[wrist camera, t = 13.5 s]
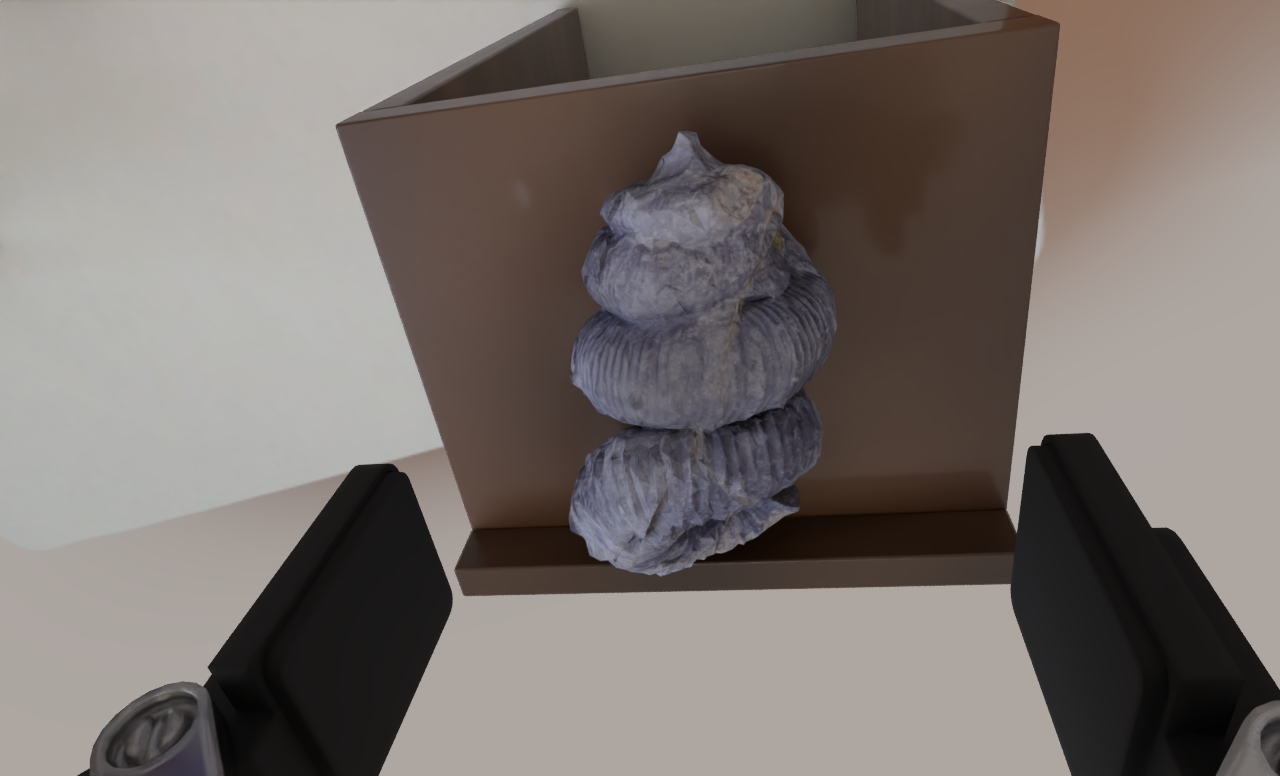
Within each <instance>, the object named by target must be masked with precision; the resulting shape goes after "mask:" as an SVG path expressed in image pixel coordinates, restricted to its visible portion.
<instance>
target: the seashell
mask: <svg viewBox="0 0 1280 776" xmlns="http://www.w3.org/2000/svg"><path fill="white" fill-rule="evenodd" d="M599 214H600V215H601V216H602V217H603V218H604V220H605V222H606V223H608V225H606V226H604V227H602V228H600V229H599V230H598V232H597V234H596V237H595V239H594V241H593V243H592V245H591V247H590V249H589V251H588V253H587V256H586V259H585V262H584V265H583V268H582V270H581V273H582V277H583V281H584V284H585V286H586V288H587V291H588V293H589V295H590V296H591V298H592V299H593V300H594V301H595V302H596V303H598V304H599V305H601V306H602V308H601V309H600V310H599V311H597V312H596V313H595V314H594V315H593V316H591V317H590V318H589V319H588V320H587V321H586V322H585V323H584V325H583V326H582V327H581V329H580V331H579V334H578V336H577V338H575V342H574V347H573V352H572V362H571V370H572V372H573V374H571V375H570V379H571V381H572V384H574V385H575V386H576V387H578V388H579V389H580V390H581V391H582V392H583V394H584V395H586V396H587V397H588V398H589V400H590V401H591V403H592V404H593V406H594V407H595V409H596V410H597V411H598V412H599V413H600V414H603V415H607V416H610V417H612V418H614V419H616V420H618V421H620V422H622V423H627V424H633V425H632V426H630V427H628V428H625V429H623V430H621V431H619V433H618V434H617V436H615V437H612V438H609V439H607V440H606V441H605V442H604V443H603V444H601V445H600V446H599V447H597V448H596V449H594V450H593V451H592V452H591V453H590V454H588V455H587V456H586V459H585V465H584V466H583V467H582V468H581V469H580V470H579V473H578V476H577V479H576V482H575V486H574V489H573V490H574V491H573V494H572V498H571V507H570V513H569V524H570V530H571V531H572V532H574V533H576V534H578V535H580V536H582V537H583V538H584V539H585V540H586V544H587V548H588V552H589V555H590V556H592V557H593V558H595V559H597V560H599V561H607V560H608V561H609V562H610V563H611V564H613V565H614V566H615V567H616V568H620V569H624V570H628V571H630V572H636V573H644V574H647V575H652V574H657V575H659V576H660V577H661V576H664V575H667V574H670V573H671V572H676V571H679V570H682V569H684V568H687V567H691V566H692V564H693V563H694V561H695V560H696V559H701V560H704V559H705V558H706V557H707V556H710V555H713V554H715V553H724V552H727V551H729V550H732V549H733V548H734V547H735V546H736V545H738V544H742V545H744V544H745V542H747V541H749V540H752V539H754V538H756V537H757V536H759V535H760V534H761V533H762V532H764V531H765V530H766V529H767V528H769V527H770V526H772V525H773V524H775V523H776V522H778V521H779V520H780V519H781V518H783V517H784V516H786V515H789V514H792V513H795V512H798V511H799V508H800V504H799V488H798V487H797V486H796V485H795V484H794V482H795V481H796V480H797V478H798V477H799V476H801V475H803V474H805V473H806V472H808V471H809V470H811V469H812V468H813V467H814V466H815V465H816V464H817V463H818V461H819V457H820V454H821V439H822V434H823V432H822V429H821V425H822V419H821V416H820V413H819V410H818V407H817V405H816V404H815V403H814V402H813V401H812V400H811V399H810V398H809V397H808V396H807V395H806V392H805V389H804V385H806V384H807V383H808V382H810V380H811V378H812V376H813V375H814V374H815V372H816V371H817V370H819V368H820V367H821V366H822V365H823V364H824V363H825V362H826V360H827V359H828V356H829V353H830V350H831V347H832V344H833V341H834V338H835V334H836V329H837V322H836V307H835V300H834V295H833V291H832V289H831V287H830V286H829V284H828V283H827V281H826V280H825V278H824V276H823V275H822V273H821V272H820V271H819V270H818V269H816V268H815V266H814V265H813V264H812V262H811V260H810V258H809V256H808V254H807V252H806V250H805V249H804V247H803V246H802V245H801V244H800V243H799V242H798V241H797V240H795V238H794V237H793V236H792V234H791V233H790V232H789V231H788V230H787V229H786V227H785V226H784V225H783V224H782V222H783V214H784V193H783V192H782V190H781V188H780V187H779V186H778V185H777V184H776V183H775V182H774V181H773V180H772V178H771V177H770V176H768V175H767V174H766V173H764V172H763V171H762V170H760V169H756V168H753V167H750V166H747V165H743V164H738V165H731V164H723V163H722V162H720V161H719V160H717V159H715V158H714V157H713V156H712V155H711V154H710V153H708V152H707V151H706V150H705V149H704V148H703V147H702V146H701V145H700V142H699V139H698V136H697V133H695V132H690V131H681V132H679V133H678V135H677V138H676V141H675V144H674V146H673V148H672V149H671V150H670V151H669V153H667V154H665V155H664V156H662V157H661V159H660V161H659V164H658V166H657V168H656V170H655V172H654V173H653V175H652V176H651V178H650V179H646V180H642V181H639V182H636V183H634V184H632V185H630V186H628V187H626V188H624V189H619V190H617V191H615V192H613V193H612V194H610V195H609V196H607V197H606V198H605V201H604V203H603V206H602V208H601V210H600V213H599Z"/></svg>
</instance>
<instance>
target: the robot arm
mask: <svg viewBox="0 0 1280 776" xmlns="http://www.w3.org/2000/svg"><path fill="white" fill-rule="evenodd" d="M1011 599H1012V605H1013V610H1014V613H1015V616H1016V619H1017V622H1018V624H1019V627H1020V630H1021V633H1022V636H1023V639H1024V642H1025V644H1026V647H1027V650H1028V653H1029V656H1030V658H1031V661H1032V664H1033V667H1034V670H1035V673H1036V676H1037V678H1038V681H1039V684H1040V687H1041V690H1042V692H1043V695H1044V698H1045V701H1046V704H1047V707H1048V710H1049V713H1050V715H1051V718H1052V721H1053V724H1054V727H1055V729H1056V732H1057V735H1058V738H1059V741H1060V744H1061V747H1062V749H1063V752H1064V755H1065V758H1066V761H1067V764H1068V767H1069V769H1070V772H1071V775H1072V776H1280V690H1279V688H1278V687H1277V685H1276V684H1275V682H1274V681H1273V679H1272V677H1271V676H1270V675H1269V673H1268V671H1267V670H1266V668H1265V667H1264V665H1263V664H1262V662H1261V661H1260V659H1259V658H1258V656H1257V654H1256V653H1255V651H1254V650H1253V649H1252V647H1251V645H1250V644H1249V642H1248V641H1247V639H1246V638H1245V636H1244V635H1243V633H1242V632H1241V630H1240V629H1239V627H1238V625H1237V624H1236V622H1235V621H1234V619H1233V618H1232V616H1231V615H1230V613H1229V612H1228V610H1227V609H1226V607H1225V606H1224V604H1223V603H1222V601H1221V599H1220V598H1219V596H1218V595H1217V593H1216V592H1215V591H1214V589H1213V587H1212V586H1211V584H1210V583H1209V581H1208V580H1207V578H1206V577H1205V575H1204V574H1203V572H1202V570H1201V569H1200V567H1199V566H1198V564H1197V563H1196V562H1195V560H1194V558H1193V557H1192V555H1191V554H1190V552H1189V551H1188V549H1187V548H1186V546H1185V545H1184V543H1183V541H1182V540H1181V539H1180V538H1179V537H1178V535H1177V534H1176V533H1175V532H1174V531H1172V530H1170V529H1169V528H1151V526H1150V524H1149V523H1148V521H1147V520H1146V518H1145V516H1144V515H1143V513H1142V511H1141V510H1140V508H1139V507H1138V505H1137V503H1136V502H1135V500H1134V499H1133V497H1132V495H1131V494H1130V492H1129V491H1128V489H1127V487H1126V486H1125V484H1124V483H1123V481H1122V479H1121V478H1120V476H1119V474H1118V473H1117V471H1116V470H1115V468H1114V466H1113V465H1112V463H1111V462H1110V460H1109V458H1108V457H1107V455H1106V454H1105V452H1104V450H1103V449H1102V447H1101V445H1100V444H1099V442H1098V440H1097V439H1096V438H1095V436H1094V435H1093V434H1090V433H1080V434H1079V433H1078V434H1056V435H1046V436H1044V438H1043V440H1042V443H1041V446H1031V447H1029V449H1028V452H1027V458H1026V466H1025V474H1024V483H1023V490H1022V498H1021V506H1020V514H1019V523H1018V530H1017V538H1016V546H1015V554H1014V562H1013V570H1012V579H1011ZM452 600H453V598H452V591H451V588H450V585H449V583H448V580H447V577H446V575H445V572H444V569H443V567H442V564H441V561H440V559H439V556H438V554H437V551H436V548H435V546H434V543H433V540H432V538H431V535H430V532H429V530H428V527H427V525H426V522H425V519H424V517H423V514H422V511H421V509H420V506H419V504H418V501H417V498H416V496H415V493H414V490H413V488H412V485H411V483H410V480H409V478H408V476H407V475H406V474H405V473H403V472H399V471H398V469H397V468H396V467H395V466H394V465H393V464H369V465H358V466H355V467H354V468H353V469H352V470H351V471H350V473H349V474H348V475H347V477H346V478H345V480H344V481H343V482H342V484H341V485H340V486H339V488H338V489H337V490H336V492H335V493H334V495H333V496H332V497H331V499H330V500H329V501H328V503H327V504H326V506H325V507H324V508H323V510H322V511H321V513H320V514H319V515H318V516H317V518H316V519H315V521H314V522H313V523H312V525H311V526H310V528H309V529H308V530H307V532H306V533H305V534H304V536H303V537H302V538H301V540H300V541H299V543H298V544H297V545H296V547H295V548H294V549H293V551H292V552H291V553H290V555H289V556H288V558H287V559H286V560H285V562H284V563H283V564H282V566H281V567H280V569H279V570H278V571H277V573H276V574H275V575H274V577H273V578H272V580H271V581H270V582H269V584H268V585H267V586H266V588H265V589H264V591H263V592H262V593H261V595H260V596H259V598H258V599H257V600H256V602H255V603H254V604H253V606H252V607H251V608H250V610H249V611H248V612H247V614H246V615H245V617H244V618H243V619H242V621H241V622H240V623H239V625H238V626H237V628H236V629H235V630H234V632H233V633H232V634H231V636H230V637H229V639H228V640H227V641H226V643H225V644H224V645H223V647H222V648H221V650H220V651H219V652H218V654H217V655H216V656H215V658H214V659H213V661H212V662H211V663H210V665H209V666H208V668H209V670H210V672H211V673H212V675H211V676H210V678H209V679H208V681H207V682H206V683H205V685H204V686H203V687H202V686H201V685H199V684H197V683H193V682H192V683H191V682H178V683H172V684H167V685H164V686H162V687H159V688H157V689H154V690H152V691H149V692H148V693H146V694H144V695H142V696H141V697H139V698H137V699H136V700H134V701H132V702H131V703H130V704H129V705H127V706H126V707H125V708H124V709H122V710H121V711H120V712H119V713H118V714H116V715H115V716H114V718H113V719H112V720H111V721H110V722H109V723H108V724H107V725H106V727H105V728H104V729H103V730H102V731H101V733H100V735H99V737H98V738H97V740H96V742H95V744H94V746H93V749H92V753H91V758H90V769H88V770H86V771H84V772H83V773H81V774H80V775H78V776H378V775H379V773H380V771H381V769H382V766H383V764H384V762H385V760H386V757H387V755H388V753H389V751H390V748H391V746H392V744H393V741H394V739H395V737H396V735H397V733H398V730H399V728H400V726H401V724H402V721H403V719H404V717H405V715H406V712H407V710H408V707H409V706H410V703H411V701H412V699H413V696H414V694H415V692H416V690H417V687H418V685H419V683H420V681H421V678H422V676H423V674H424V672H425V669H426V667H427V665H428V663H429V660H430V658H431V655H432V654H433V651H434V649H435V646H436V645H437V642H438V640H439V638H440V635H441V633H442V631H443V629H444V626H445V624H446V622H447V620H448V617H449V615H450V612H451V608H452Z"/></svg>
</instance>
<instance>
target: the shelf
mask: <svg viewBox="0 0 1280 776" xmlns="http://www.w3.org/2000/svg"><path fill="white" fill-rule="evenodd" d="M856 4H857V41H854V42H847V43H840V44H833V45H826V46H819V47H812V48H805V49H798V50H791V51H784V52H777V53H770V54H763V55H756V56H749V57H742V58H735V59H728V60H721V61H715V62H708V63H701V64H694V65H687V66H680V67H673V68H666V69H659V70H652V71H645V72H638V73H631V74H624V75H617V76H610V77H603V78H596V79H589V73H588V67H587V62H586V56H585V50H584V44H583V39H582V33H581V27H580V21H579V16H578V10H577V8H576V7H573V8H567V9H560V10H556V11H554V12H552V13H551V14H549V15H547V16H545V17H543V18H541V19H539V20H537V21H535V22H533V23H531V24H529V25H528V26H526V27H524V28H522V29H520V30H518V31H516V32H514V33H512V34H510V35H508V36H506V37H504V38H503V39H501V40H499V41H497V42H495V43H493V44H491V45H489V46H487V47H485V48H483V49H481V50H479V51H478V52H476V53H474V54H472V55H470V56H468V57H466V58H464V59H462V60H460V61H458V62H456V63H454V64H453V65H451V66H449V67H447V68H445V69H443V70H441V71H439V72H437V73H435V74H433V75H431V76H430V77H428V78H426V79H424V80H422V81H420V82H418V83H416V84H414V85H412V86H410V87H408V88H406V89H405V90H403V91H401V92H399V93H397V94H395V95H393V96H391V97H389V98H387V99H385V100H383V101H381V102H380V103H378V104H376V105H374V106H372V107H370V108H368V109H366V110H364V111H363V112H359V113H357V114H355V115H354V116H352V117H350V118H348V119H346V120H344V121H342V122H340V123H338V124H337V125H336V129H337V132H338V135H339V138H340V141H341V144H342V147H343V150H344V153H345V156H346V159H347V162H348V165H349V168H350V171H351V174H352V177H353V179H354V182H355V185H356V188H357V191H358V194H359V197H360V200H361V203H362V206H363V209H364V212H365V215H366V218H367V221H368V224H369V227H370V230H371V232H372V235H373V238H374V241H375V244H376V247H377V250H378V253H379V256H380V259H381V262H382V265H383V268H384V271H385V274H386V277H387V280H388V283H389V285H390V288H391V291H392V294H393V297H394V300H395V303H396V306H397V309H398V312H399V315H400V318H401V321H402V324H403V327H404V330H405V333H406V336H407V338H408V341H409V344H410V347H411V350H412V353H413V356H414V359H415V362H416V365H417V368H418V371H419V374H420V377H421V380H422V383H423V386H424V389H425V391H426V394H427V397H428V400H429V403H430V406H431V409H432V412H433V415H434V418H435V421H436V424H437V427H438V430H439V433H440V436H441V439H442V442H443V444H444V447H445V450H446V453H447V456H448V459H449V462H450V465H451V468H452V471H453V474H454V477H455V480H456V483H457V485H458V488H459V491H460V495H461V497H462V500H463V503H464V506H465V509H466V512H467V515H468V518H469V521H470V524H471V527H472V531H471V533H470V535H469V538H468V540H467V542H466V544H465V547H464V549H463V551H462V554H461V556H460V558H459V560H458V562H457V565H456V567H455V574H456V576H457V579H458V582H459V585H460V587H461V590H462V593H463V595H465V596H490V595H531V594H532V595H535V594H579V593H625V592H671V591H716V590H763V589H805V588H806V589H807V588H849V587H850V588H851V587H852V588H854V587H896V586H897V587H898V586H941V585H942V586H943V585H944V586H945V585H987V584H988V585H989V584H1011V579H1012V570H1013V562H1014V554H1015V546H1016V538H1017V532H1016V530H1015V528H1014V525H1013V523H1012V521H1011V519H1010V516H1009V514H1008V512H1007V511H1006V509H1007V500H1008V491H1009V481H1010V472H1011V463H1012V455H1013V446H1014V437H1015V428H1016V419H1017V409H1018V400H1019V392H1020V383H1021V374H1022V365H1023V354H1024V346H1025V338H1026V328H1027V319H1028V310H1029V301H1030V292H1031V283H1032V274H1033V265H1034V256H1035V247H1036V238H1037V229H1038V220H1039V211H1040V202H1041V193H1042V184H1043V175H1044V166H1045V157H1046V148H1047V139H1048V130H1049V121H1050V112H1051V102H1052V93H1053V85H1054V75H1055V67H1056V58H1057V49H1058V40H1059V39H1058V38H1059V30H1060V24H1059V23H1058V22H1055V21H1053V20H1050V19H1047V18H1044V17H1042V16H1038V15H1034V14H1031V13H1028V12H1026V11H1023V10H1020V9H1018V8H1015V7H1012V6H1009V5H1006V4H1004V3H1001V2H998V1H995V0H856ZM681 131H690V132H695V133H697V136H698V139H699V142H700V145H701V146H702V147H703V148H704V149H705V150H706V151H707V152H708V153H710V154H711V155H712V156H713V157H714V158H715V159H717V160H719V161H720V162H722V163H723V164H731V165H738V164H743V165H747V166H750V167H753V168H756V169H760V170H762V171H763V172H764V173H766V174H767V175H768V176H770V177H771V178H772V180H773V181H774V182H775V183H776V184H777V185H778V186H779V187H780V188H781V190H782V192H783V193H784V214H783V222H782V224H783V225H784V226H785V227H786V229H787V230H788V231H789V232H790V233H791V234H792V236H793V237H794V238H795V240H797V241H798V242H799V243H800V244H801V245H802V246H803V247H804V249H805V250H806V252H807V254H808V256H809V258H810V260H811V262H812V264H813V265H814V266H815V268H816V269H818V270H819V271H820V272H821V273H822V275H823V276H824V278H825V280H826V281H827V283H828V284H829V286H830V287H831V289H832V291H833V295H834V300H835V307H836V322H837V329H836V334H835V338H834V341H833V344H832V347H831V350H830V353H829V356H828V359H827V360H826V362H825V363H824V364H823V365H822V366H821V367H820V368H819V370H817V371H816V372H815V374H814V375H813V376H812V378H811V380H810V382H808V383H807V384H806V385H804V389H805V392H806V395H807V396H808V397H809V398H810V399H811V400H812V401H813V402H814V403H815V404H816V405H817V407H818V410H819V413H820V416H821V419H822V425H821V429H822V432H823V434H822V439H821V454H820V457H819V461H818V463H817V464H816V465H815V466H814V467H813V468H812V469H811V470H809V471H808V472H806V473H805V474H803V475H801V476H799V477H798V478H797V480H796V481H795V482H794V484H795V485H796V486H797V487H798V488H799V504H800V508H799V511H798V512H795V513H792V514H789V515H786V516H784V517H783V518H781V519H780V520H779V521H778V522H776V523H775V524H773V525H772V526H770V527H769V528H767V529H766V530H765V531H764V532H762V533H761V534H760V535H759V536H757V537H756V538H754V539H752V540H749V541H747V542H745V544H744V545H742V544H738V545H736V546H735V547H734V548H733V549H732V550H729V551H727V552H724V553H715V554H713V555H710V556H707V557H706V558H705V559H704V560H701V559H696V560H695V561H694V563H693V564H692V566H691V567H687V568H684V569H682V570H679V571H676V572H671V573H670V574H667V575H664V576H661V577H660V576H659V575H657V574H652V575H647V574H644V573H636V572H630V571H628V570H624V569H620V568H616V567H615V566H614V565H613V564H611V563H610V562H609V561H608V560H607V561H599V560H597V559H595V558H593V557H592V556H590V555H589V552H588V548H587V544H586V540H585V539H584V538H583V537H582V536H580V535H578V534H576V533H574V532H572V531H571V530H570V524H569V513H570V507H571V498H572V494H573V491H574V490H573V489H574V486H575V482H576V479H577V476H578V473H579V470H580V469H581V468H582V467H583V466H584V465H585V459H586V456H587V455H588V454H590V453H591V452H592V451H593V450H594V449H596V448H597V447H599V446H600V445H601V444H603V443H604V442H605V441H606V440H607V439H609V438H612V437H615V436H617V434H618V433H619V431H621V430H623V429H625V428H628V427H630V426H632V425H633V424H627V423H622V422H620V421H618V420H616V419H614V418H612V417H610V416H607V415H603V414H600V413H599V412H598V411H597V410H596V409H595V407H594V406H593V404H592V403H591V401H590V400H589V398H588V397H587V396H586V395H584V394H583V392H582V391H581V390H580V389H579V388H578V387H576V386H575V385H574V384H572V381H571V379H570V375H571V374H573V372H572V370H571V362H572V352H573V347H574V342H575V338H577V336H578V334H579V331H580V329H581V327H582V326H583V325H584V323H585V322H586V321H587V320H588V319H589V318H590V317H591V316H593V315H594V314H595V313H596V312H597V311H599V310H600V309H601V308H602V306H601V305H599V304H598V303H596V302H595V301H594V300H593V299H592V298H591V296H590V295H589V293H588V291H587V288H586V286H585V284H584V281H583V277H582V273H581V270H582V268H583V265H584V262H585V259H586V256H587V253H588V251H589V249H590V247H591V245H592V243H593V241H594V239H595V237H596V234H597V232H598V230H599V229H600V228H602V227H604V226H606V225H608V223H606V222H605V220H604V218H603V217H602V216H601V215H600V214H599V213H600V210H601V208H602V206H603V203H604V201H605V198H606V197H607V196H609V195H610V194H612V193H613V192H615V191H617V190H619V189H624V188H626V187H628V186H630V185H632V184H634V183H636V182H639V181H642V180H646V179H650V178H651V176H652V175H653V173H654V172H655V170H656V168H657V166H658V164H659V161H660V159H661V157H662V156H664V155H665V154H667V153H669V151H670V150H671V149H672V148H673V146H674V144H675V141H676V138H677V135H678V133H679V132H681Z"/></svg>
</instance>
